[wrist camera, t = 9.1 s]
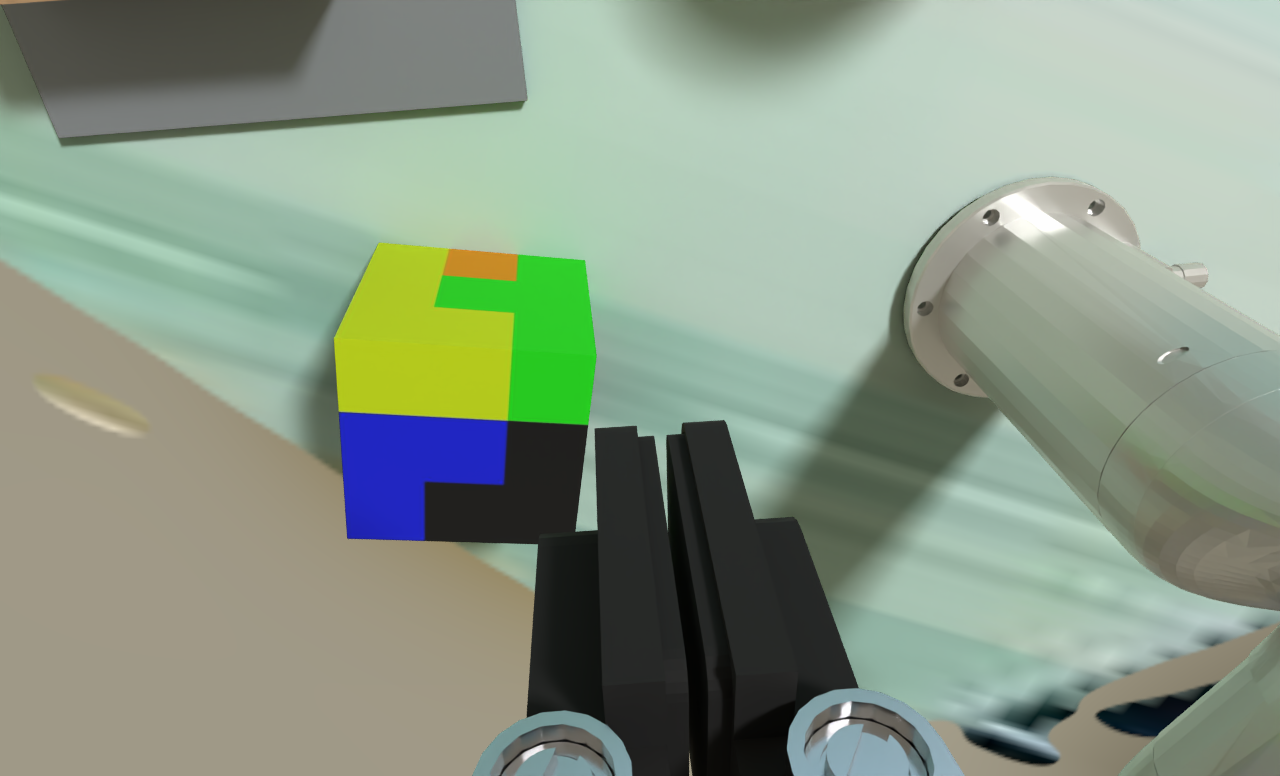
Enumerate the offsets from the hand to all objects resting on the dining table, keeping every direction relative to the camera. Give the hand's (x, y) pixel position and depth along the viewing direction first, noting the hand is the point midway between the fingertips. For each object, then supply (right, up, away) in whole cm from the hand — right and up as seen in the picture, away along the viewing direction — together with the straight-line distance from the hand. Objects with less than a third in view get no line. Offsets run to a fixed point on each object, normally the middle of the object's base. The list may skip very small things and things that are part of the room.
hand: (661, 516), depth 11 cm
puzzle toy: (-9, +4, +32) cm, 33 cm away
